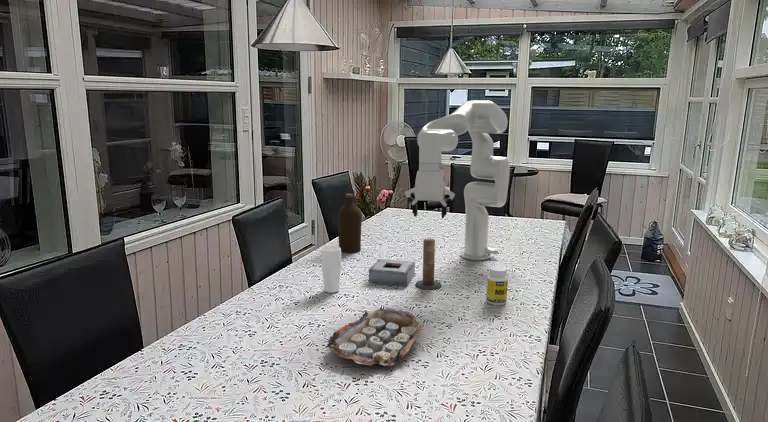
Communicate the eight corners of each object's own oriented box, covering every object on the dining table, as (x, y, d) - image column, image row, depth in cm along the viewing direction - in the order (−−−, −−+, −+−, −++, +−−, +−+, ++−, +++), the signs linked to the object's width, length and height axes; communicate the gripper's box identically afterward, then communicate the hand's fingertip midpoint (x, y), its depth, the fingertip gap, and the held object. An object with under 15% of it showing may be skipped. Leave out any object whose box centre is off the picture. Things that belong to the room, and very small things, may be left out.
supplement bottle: (494, 306, 167) (496, 272, 165) (482, 300, 172) (483, 267, 170) (510, 303, 170) (512, 269, 167) (497, 297, 175) (499, 264, 173)
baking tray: (396, 383, 121) (397, 362, 120) (313, 365, 129) (313, 345, 128) (433, 332, 149) (433, 314, 148) (362, 319, 156) (362, 302, 155)
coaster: (442, 282, 189) (442, 280, 189) (439, 290, 181) (439, 289, 181) (418, 280, 192) (418, 278, 192) (413, 288, 183) (413, 286, 183)
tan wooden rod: (434, 282, 188) (435, 238, 184) (432, 286, 184) (434, 241, 181) (423, 281, 189) (424, 238, 185) (421, 285, 185) (422, 240, 182)
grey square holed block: (414, 274, 198) (415, 261, 197) (407, 286, 185) (407, 272, 184) (378, 271, 202) (378, 258, 201) (368, 283, 189) (368, 269, 188)
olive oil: (346, 255, 224) (346, 196, 219) (332, 249, 232) (332, 193, 227) (366, 250, 231) (366, 194, 226) (352, 245, 239) (352, 191, 234)
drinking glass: (345, 289, 182) (344, 247, 179) (335, 295, 176) (334, 252, 173) (328, 286, 185) (327, 244, 182) (317, 292, 179) (317, 249, 176)
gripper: (456, 166, 182) (455, 215, 185) (407, 165, 186) (407, 213, 189) (454, 169, 175) (453, 220, 178) (403, 168, 179) (402, 217, 182)
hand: (429, 216), depth 184 cm, fingers open, 9 cm apart
